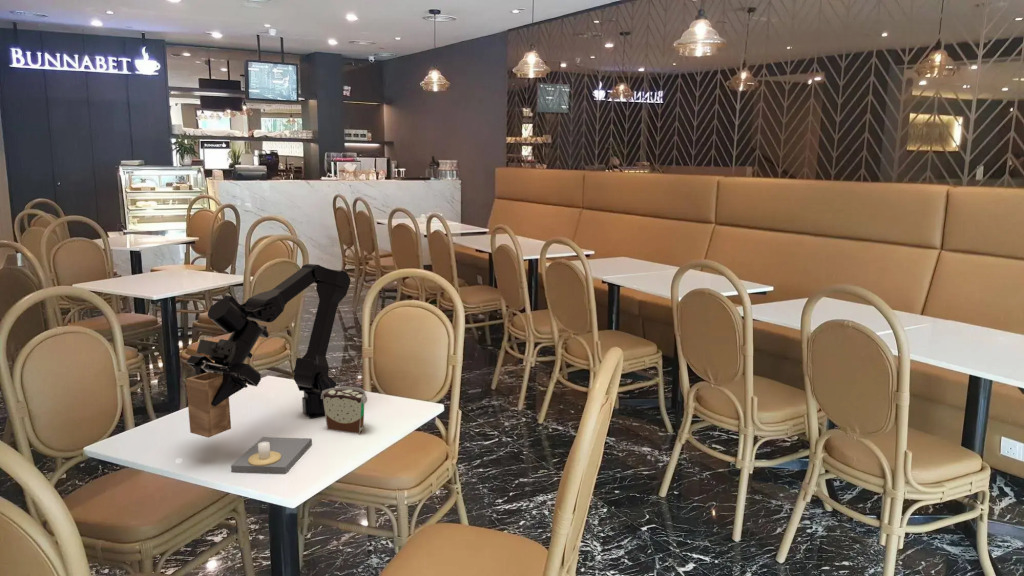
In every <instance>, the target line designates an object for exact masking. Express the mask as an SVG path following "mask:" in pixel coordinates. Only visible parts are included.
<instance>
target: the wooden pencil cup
mask: <svg viewBox="0 0 1024 576" xmlns="http://www.w3.org/2000/svg"><path fill="white" fill-rule="evenodd" d="M222 382H223V373H218V372H217V373H212V372H207V373H204V374H200V375H193V376H191V377H187V378H185V384H186V396H187V409H188V419H189V421H188V422H189V430H190V434H194V435H198V436H200V437H201V436H202V437H205V438H211V437H214V436H216V435H219V434H221V433H223V432H227V431H229V430H231V429H232V423H231V422H232V421H231V409H230V407H231V406H230V397H228V398H227V399H225V400H224V401H222V402H221V403H219V404H218V405H217V406H213V405H212V404H211V403H212V401H213V398H214V396H215V395H216V393H217V391H218V389H219V387H220V385H221V384H222Z"/></svg>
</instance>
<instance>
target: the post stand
mask: <svg viewBox="0 0 1024 576" xmlns="http://www.w3.org/2000/svg"><path fill="white" fill-rule="evenodd" d="M312 440H313V439H312V438H311V437H310V438H307V437H305V438H304V437H275V436H273V437H270V436H269V437H268V436H262V437H261V438H259V440H258V441H257V442H255V443H254V444H253V445H252V446H251V447H250V448H248V450H246V451H245V452H243V454H241V456H239V458H238V459H236V460H235V461H234V462H233V463H232V464H231V465H230V470H231V473H248V474H249V473H250V474H252V473H253V474H277V475H278V474H279V475H280V474H282V475H285V474H287V473H288V471H290V469H292V467H293V466H294V465H295V464H296V463H297V462H298V461H299V459H300V458H302V456H303V455H304V454H305V453H306V452H307V451H308V449H309V448H310V447H312V445H313V441H312Z"/></svg>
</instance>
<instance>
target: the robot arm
mask: <svg viewBox="0 0 1024 576" xmlns="http://www.w3.org/2000/svg"><path fill="white" fill-rule="evenodd" d="M313 284H316V287H315V288H316V293H317V298H318V305H317V308H316V312H315V317H314V321H313V325H312V329H311V334H310V338H309V342H308V346H307V351H306V353H305V354H304V355H303V356H302V357H297V358H296V360H295V364H294V365H295V366H294V368H293V370H292V373H293V381H294V382H295V384H296V385H297V388H298V391H300V392H303V396H302V397H301V399H302V400H301V401H302V402H301V403H302V413H304V415H306V416H307V417H308V418H309V419H313V418H319V417H323V416H325V410H324V403H323V399H321V394H322V391H324V390H327V389H330V388H336V386H337V383H336V381H335V380H334V379H332V378H331V377H330V376H329V371H330V367H329V364H328V360H327V352H328V348H329V343H330V340H331V335H332V331H333V327H334V324H335V319H336V315H337V311H338V306H339V304H340V303H341V302H342V300H343V299H344V298H345V297H346V296H347V293H348V291H349V288H350V285H351V277H349V273H348V272H347V271H346V270H339V269H331V268H327V267H325V266H322V265H321V264H316V263H315V264H314V263H305V264H304V265H302V266H301V267H300V269H298V270H296V272H294V273H293V274H292V275H290V276H289V277H287V278H285V280H283V281H282V282H280V283H279V284H278V285H275V287H273V288H272V289H270V290H267V291H263V292H260V293H257V294H254V295H252V296H251V297H249V298H247V299H246V300H245V302H243V303H241V304H240V303H239V302H238V301H237V300H236V298H235V297H234V296H232V295H226V294H225V295H224V296H223V298H222V299H219V300H217V301H216V302H215V303H214V304H212V305H211V306H210V307H209V309H208V311H207V317H208V318H209V319H210V320H211V321H212V322H213V323H214V324H216V326H218V327H219V328H220V329H222V330H223V332H226V333H229V334H230V336H229V337H228V339H225V338H224V339H223V338H220V339H219V340H218V341H212V340H206V339H199V343H198V346H197V348H196V354H191V355H190V356H189V358H188V359H187V361H186V364H187V365H189V367H191V368H192V369H193V370H194V371H195V376H197V375H200V374H204V373H207V372H212V373H217V374H222V375H223V382H222V384H221V385H220V387H219V389H218V391H217V393H216V395H215V396H214V398H213V401H212V403H211V404H212V405H213V406H217V405H218V404H219V403H221V402H222V401H224V400H225V399H227V398H228V397H229V398H230V397H231V396H232V395H235V394H236V393H238V392H240V391H241V390H243V389H246V388H248V386H252V387H258V385H259V384H260V382H261V380H262V376H261V375H262V374H261V373H260V372H259V371H258V370H256V369H255V368H254V367H252V366H251V364H248V363H245V361H246V360H247V359H251V358H252V357H253V355H254V354H252V353H251V351H252V350H253V348H254V347H255V345H256V343H257V342H258V339H259V338H266V339H267V338H269V336H270V335H269V332H268V328H267V326H266V325H261V324H259V322H261V323H268V324H269V323H273V322H274V321H276V320H277V319H278V318H279V317H280V316H281V315H282V313H283V312H284V311H285V308H286V307H285V306H286V305H287V304H288V303H289V302H290V301H292V300H293V299H294V298H295V297H297V296H298V295H299V294H301V293H302V292H303V291H305V290H306V289H307V288H309V287H310V286H312V285H313ZM201 354H202V355H201Z"/></svg>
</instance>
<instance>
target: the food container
mask: <svg viewBox="0 0 1024 576" xmlns="http://www.w3.org/2000/svg"><path fill="white" fill-rule="evenodd" d="M321 399H323V403H324V410H325V415H324V416H325V422H326V429H327V431H332V432H339V433H345V434H347V433H348V434H352V435H353V434H354V435H361V434H362V433H363V432H364V421H365V405H366V403H367V402H368V397H367V393H366V392H365V390H364V389H363V388H361V387H357V386H337V387H335V388H330V389H327V390H324V391H322V394H321Z"/></svg>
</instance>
